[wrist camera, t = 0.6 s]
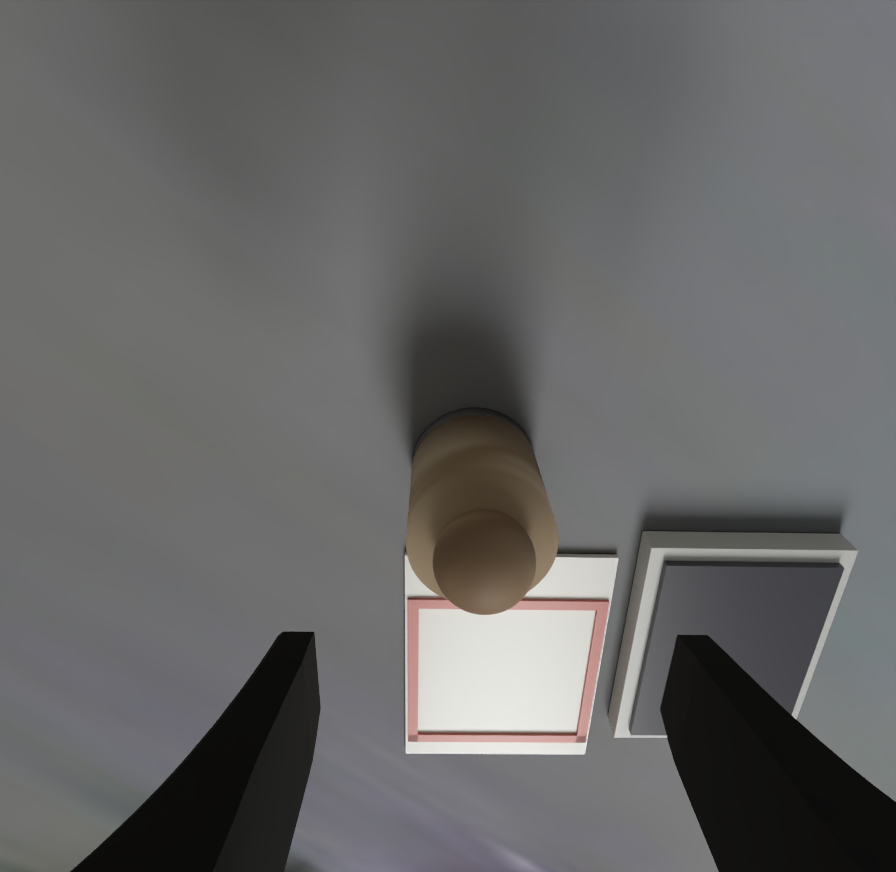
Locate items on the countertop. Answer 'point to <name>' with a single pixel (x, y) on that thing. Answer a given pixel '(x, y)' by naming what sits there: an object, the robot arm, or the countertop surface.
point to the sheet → (508, 664)
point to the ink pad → (727, 613)
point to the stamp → (479, 512)
